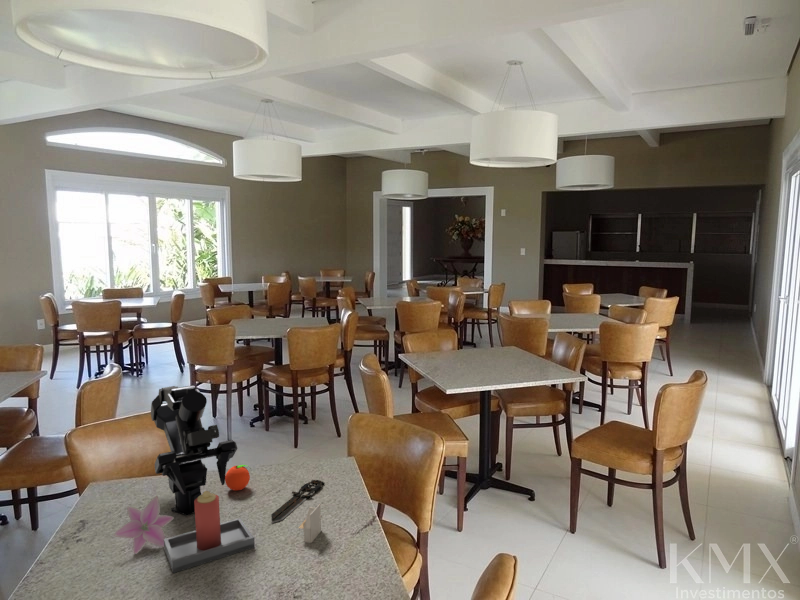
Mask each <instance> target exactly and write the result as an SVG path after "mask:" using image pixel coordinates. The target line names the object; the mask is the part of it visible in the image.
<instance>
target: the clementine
mask: <svg viewBox="0 0 800 600" xmlns="http://www.w3.org/2000/svg"><path fill="white" fill-rule="evenodd" d="M247 467H248V468H250V469H251V470H252V467H250V466H249V465H246V464H240V465H234V466H232V467H230V468H229V469H227V470H228V471H226V474H225V485H226V486H227V488H228V489H229V490H231V491H234V492H235V491H241V490H243V489H245V488H246V487H247V485H248V484H249V483H250V480H251V479H250V478H251V476H250V472H249V470H248V469H247Z"/></svg>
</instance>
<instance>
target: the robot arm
mask: <svg viewBox="0 0 800 600" xmlns="http://www.w3.org/2000/svg"><path fill="white" fill-rule="evenodd" d="M207 401H208V399H207V397H206V396H205V394H203V393H202V392H200V390H199V389H198V388H197V387H196V386H195V385H192V384H191V385H187V386H186V385H185V386H181V387H179V386H176V385H172V386H165V387H161V388H159V389H158V395H157V396H156V397H155V398H153V400H152V401H151V403H150V404H151V406H150V417H151V421H152V422H153V423H154V424H155V427H156V428H157V429H160V430H162V431H163V432H164V433H165V437H166V440H167V443H168V446H169V450H170V451H168V452H163V453H159V454H158V455H157V457H156V458H155V459H156V460H155V461H154V470H155V474H156V475H159V474H161V475H162V477H168V486H169V487H168V488H169V489H170V491H171V492H172V494H174V497H175V506H173V507H171V508H170V510H171V511H172V512H175V513H178V514H180V515H184V516H189V515H191V514H193V513H195V505H194V501H195V499H196V498H198V497H199V496H200V495H202V492H201V487H202V486H203V487H204V486H206V484H207V473H208V468H207V467H206V465H205V463H204V462H203V461H202V460H203V459H206V458H207V459H208V458H212V457H215V459H217V461H216V468H217V472H218V476H219V480H220V484H221V485H222V486H224V485H225V484H226V482H225V476H226V473H227V465H228V462H229V461H230V459H232V458H234V456H235V454H236V452H237V451H238V446H237V442H235V440H233V439H230V440H225V441H224V440H223V441H219V442H218V444H217V447H215V448H210V447H211V443H213V442H214V441H213V440H214V439H219V437H220V429H219V428H218V427H219V426H218V424H213V425H209V426H208V427H207V429H205V427H203V424H202V417H203V415H204V412H205V409H206V406H207ZM208 448H210V449H208Z"/></svg>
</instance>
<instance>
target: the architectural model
mask: <svg viewBox="0 0 800 600" xmlns="http://www.w3.org/2000/svg"><path fill="white" fill-rule="evenodd" d="M321 509H322V508H321V504H320V503H319V504H318V505H316V506H315V507H312V506H310V507H308V511H307V514H306V518H305V519H304V521H302V523H301V524H300V525H299V527H297V529H298V530H300V531H303V542H304V543H308V544H309V543H310V544H311V543H313V542H314V540H315V539H317V537H318V536H319V534H320V533H321V531H322V515H321Z"/></svg>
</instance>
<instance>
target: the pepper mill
mask: <svg viewBox="0 0 800 600" xmlns="http://www.w3.org/2000/svg"><path fill="white" fill-rule="evenodd" d="M194 505H195V512H194V517H195V518H194V519H195V530H196V540H197V548H198V549H199V550H204V551H205V550H208V549H211V548H215V547H218V546H219V545H220V544H221V530H220V523H221V513H220V497H219V495H217V494H215V493H213V492H210V491H209V490H205V491H203V492H202V493H201V495H200V496H199V497H198V498H196V499H195V501H194Z"/></svg>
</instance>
